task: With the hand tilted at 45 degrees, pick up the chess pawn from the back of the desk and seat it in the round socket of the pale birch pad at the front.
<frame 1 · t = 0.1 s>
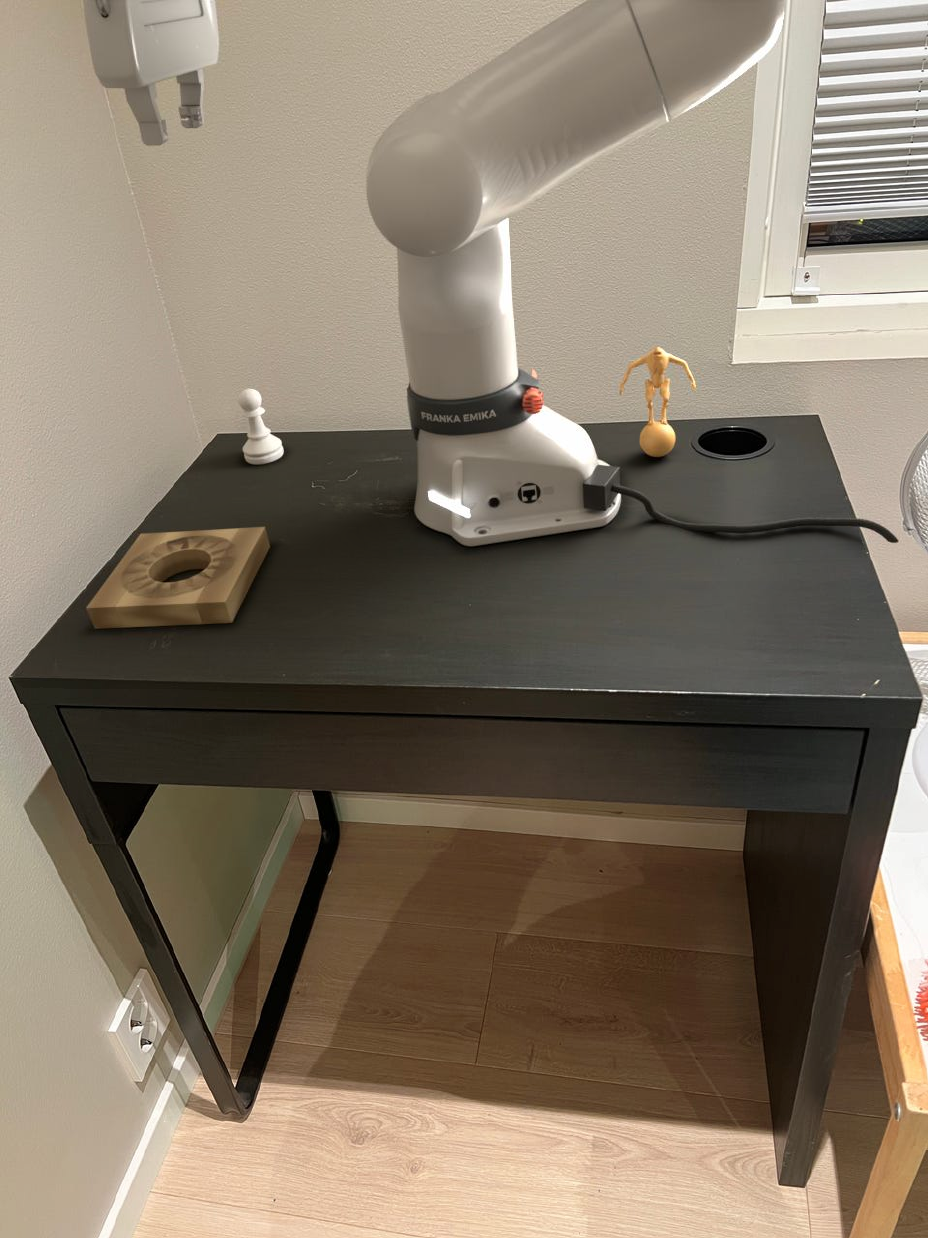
hand: (175, 135, 83), 39 cm above the table, tool pointing down, fingers open, 8 cm apart
socket pad: (186, 585, 94), on the table
chess pawn: (265, 457, 119), on the table
figurine: (657, 452, 107), on the table
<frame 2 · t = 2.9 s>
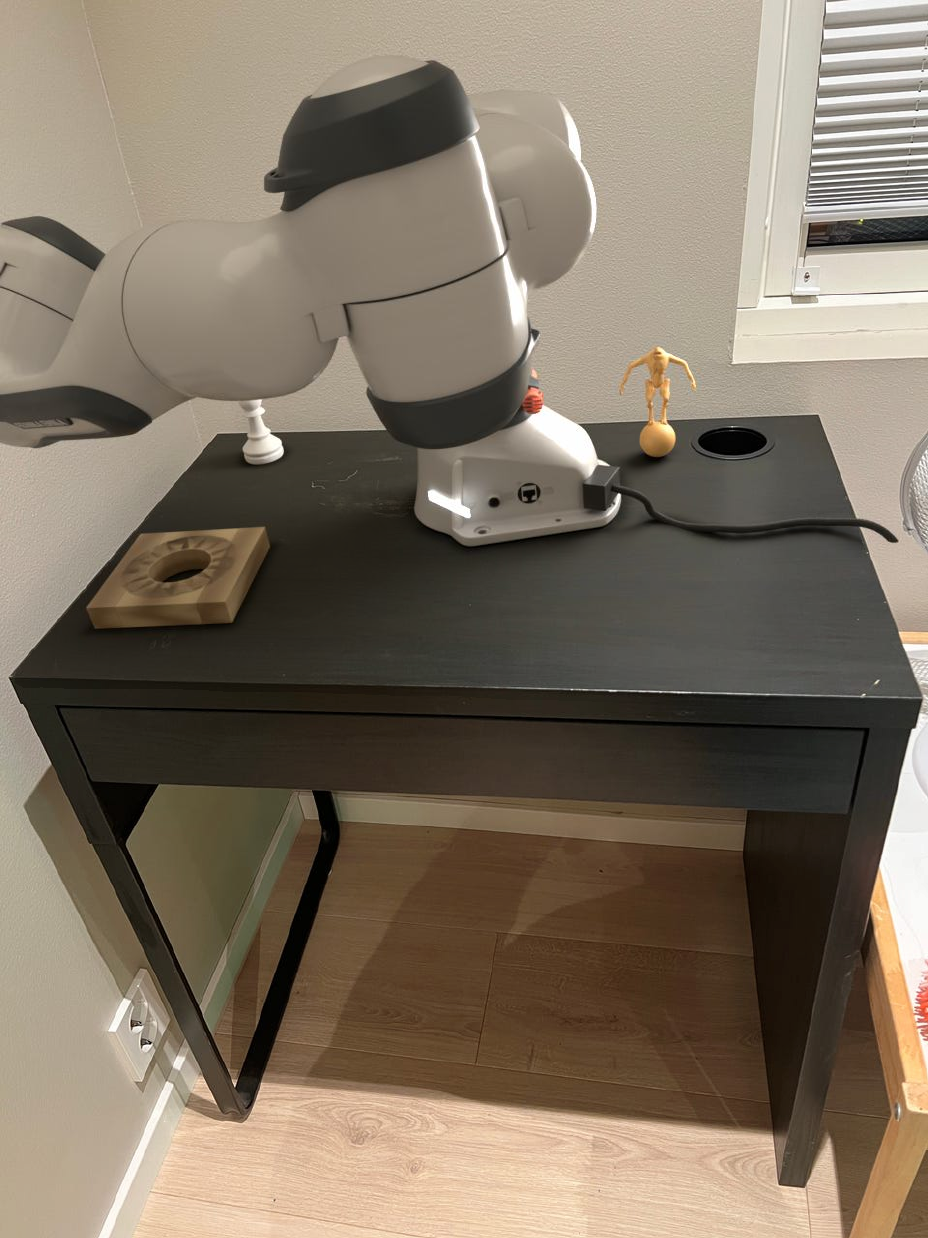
hand: (163, 382, 101), 15 cm above the table, tool tilted 45°, fingers open, 8 cm apart
nothing on the table moved.
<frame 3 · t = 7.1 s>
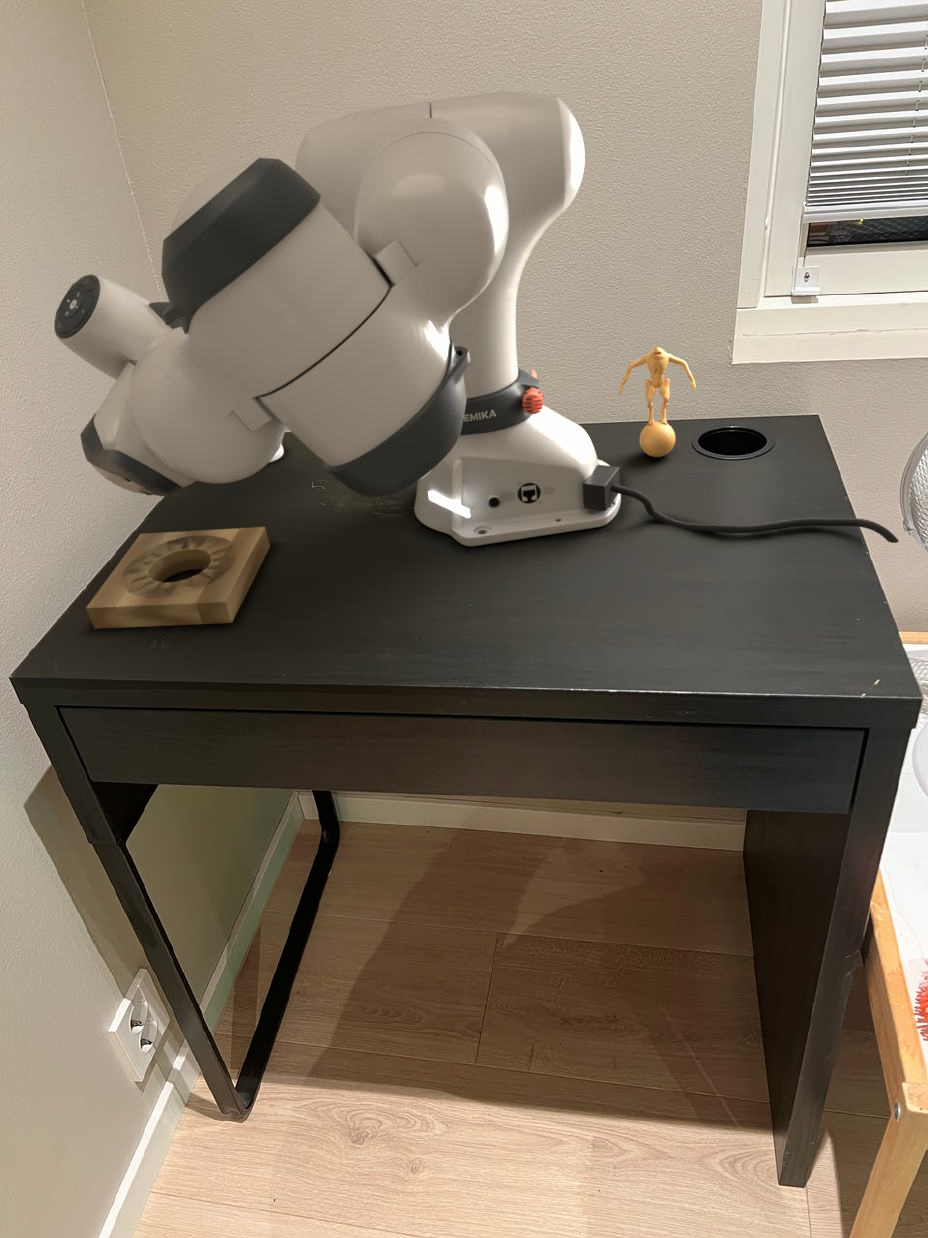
hand: (258, 418, 116), 5 cm above the table, tool tilted 45°, fingers closed on chess pawn, 3 cm apart
chess pawn: (265, 457, 119), on the table, touching gripper
everything else where it was.
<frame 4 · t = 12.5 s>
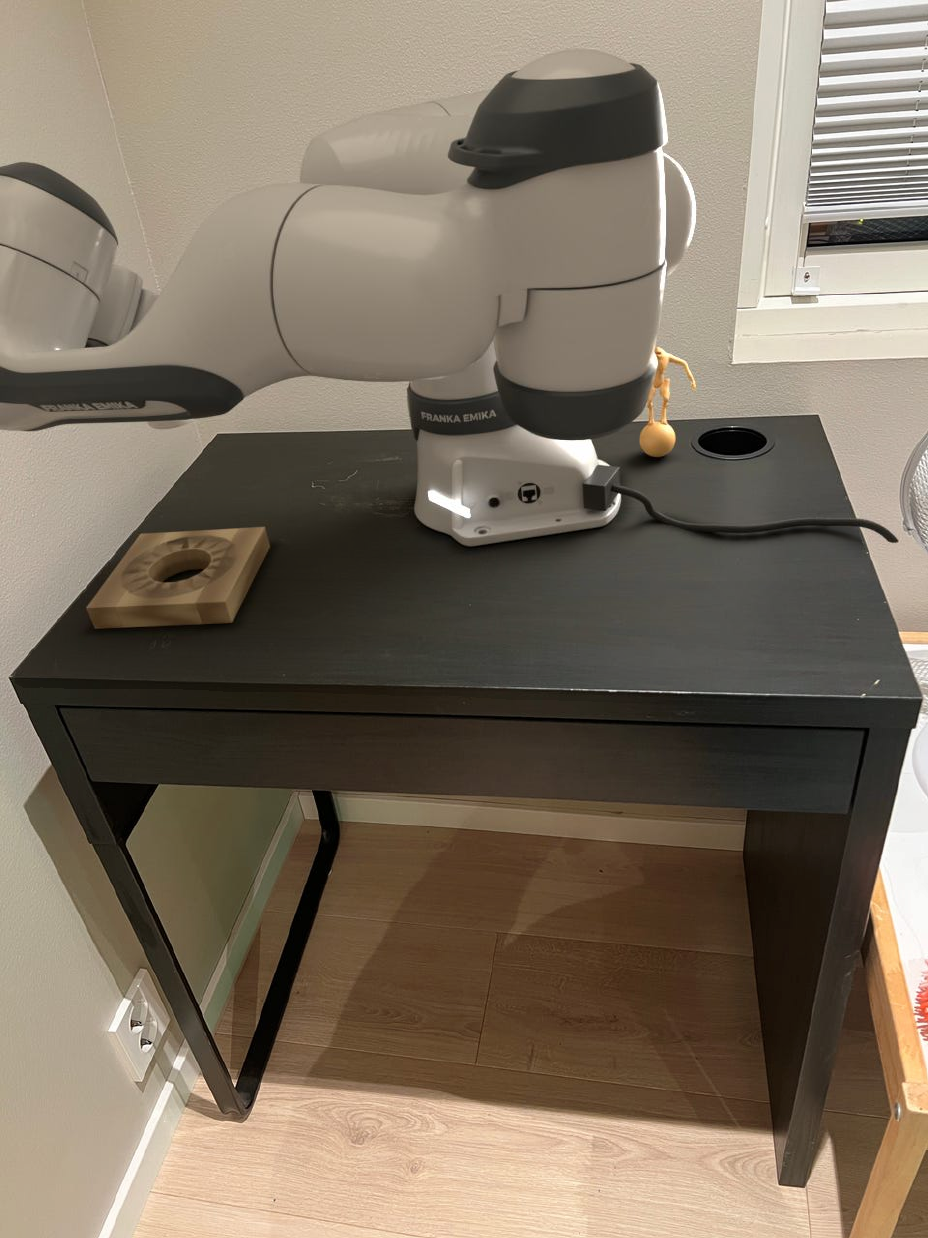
hand: (163, 370, 91), 19 cm above the table, tool tilted 45°, fingers closed on chess pawn, 3 cm apart
chess pawn: (174, 421, 93), point 14 cm above the table, touching gripper
everything else where it was.
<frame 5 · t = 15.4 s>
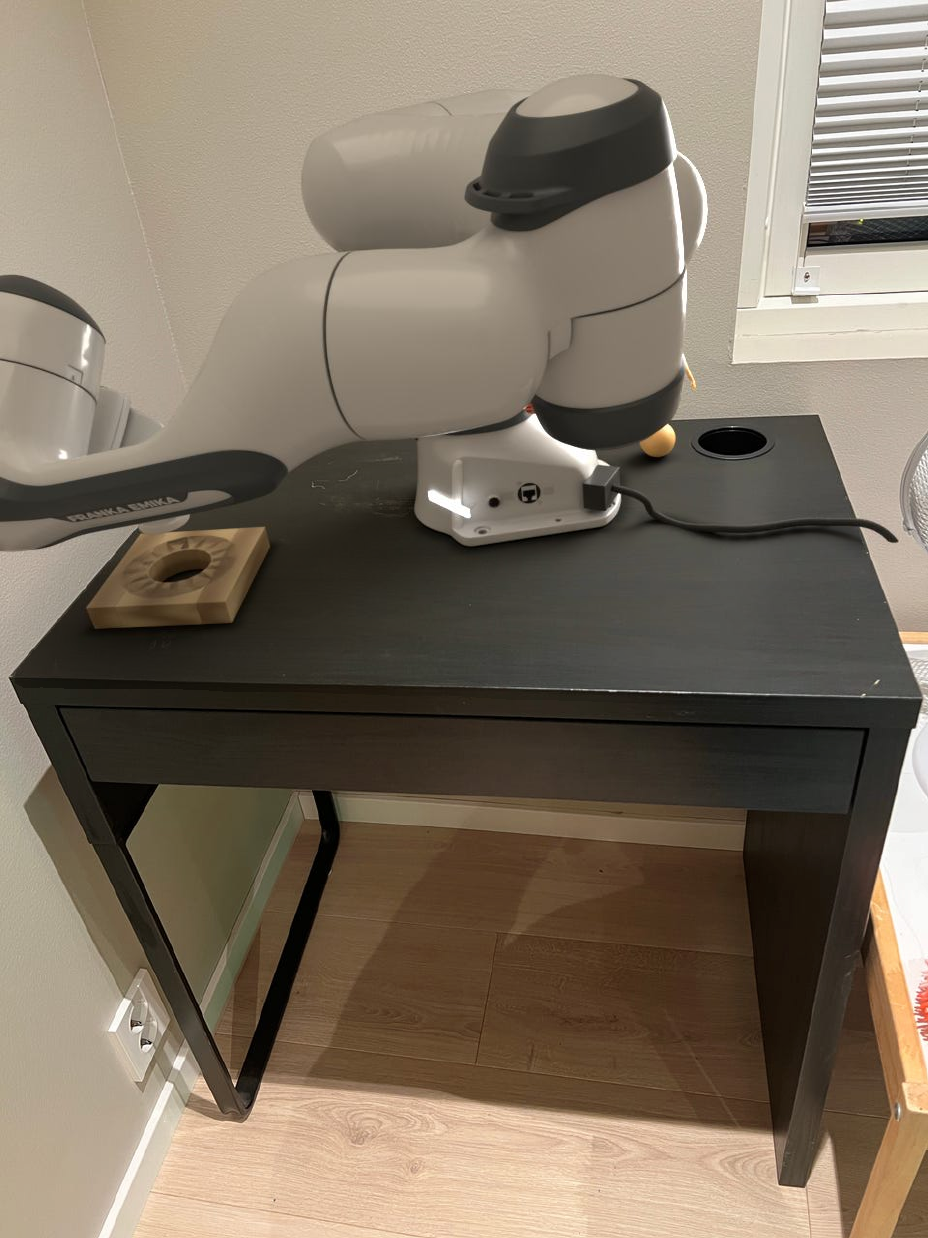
hand: (154, 474, 88), 12 cm above the table, tool tilted 45°, fingers closed on chess pawn, 3 cm apart
chess pawn: (165, 524, 90), point 7 cm above the table, touching gripper
everything else where it was.
when the fingers open (5 cm above the table, at t = 17.8 s): chess pawn stays where it is, resting in socket pad.
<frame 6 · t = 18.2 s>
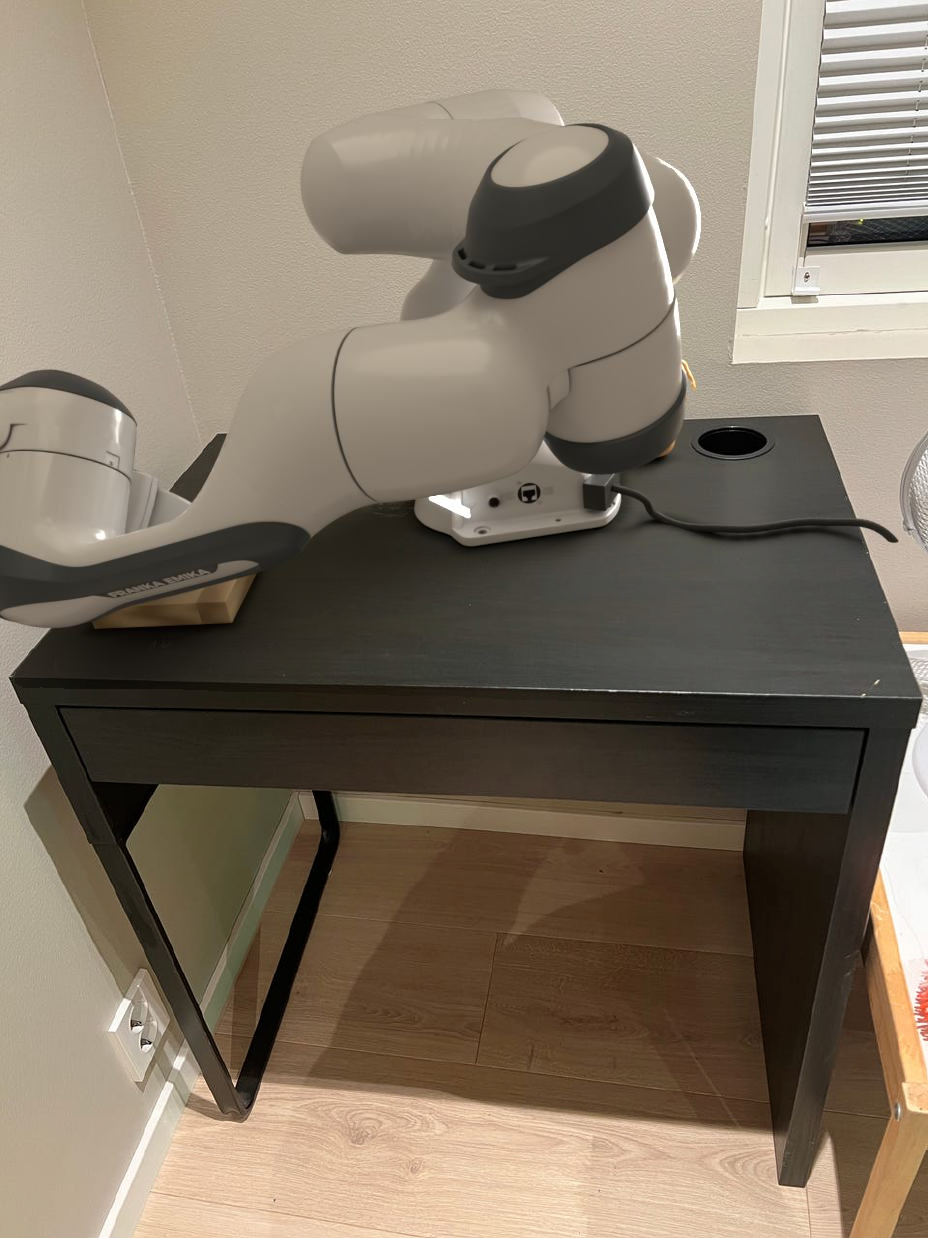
hand: (176, 538, 92), 5 cm above the table, tool tilted 45°, fingers open, 7 cm apart
chess pawn: (187, 587, 94), resting in socket pad
everything else where it was.
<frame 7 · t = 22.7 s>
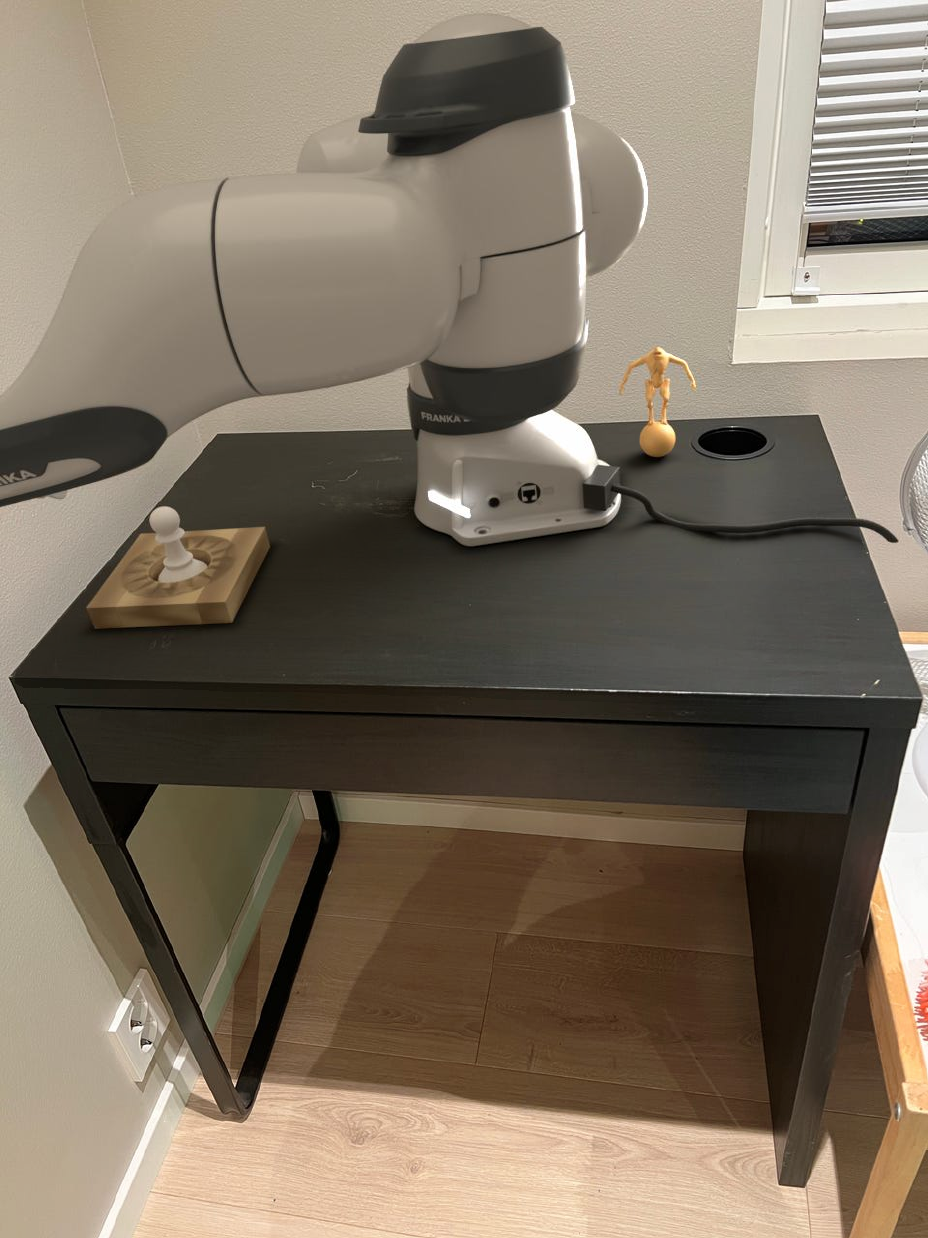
hand: (21, 481, 75), 18 cm above the table, tool tilted 45°, fingers open, 8 cm apart
nothing on the table moved.
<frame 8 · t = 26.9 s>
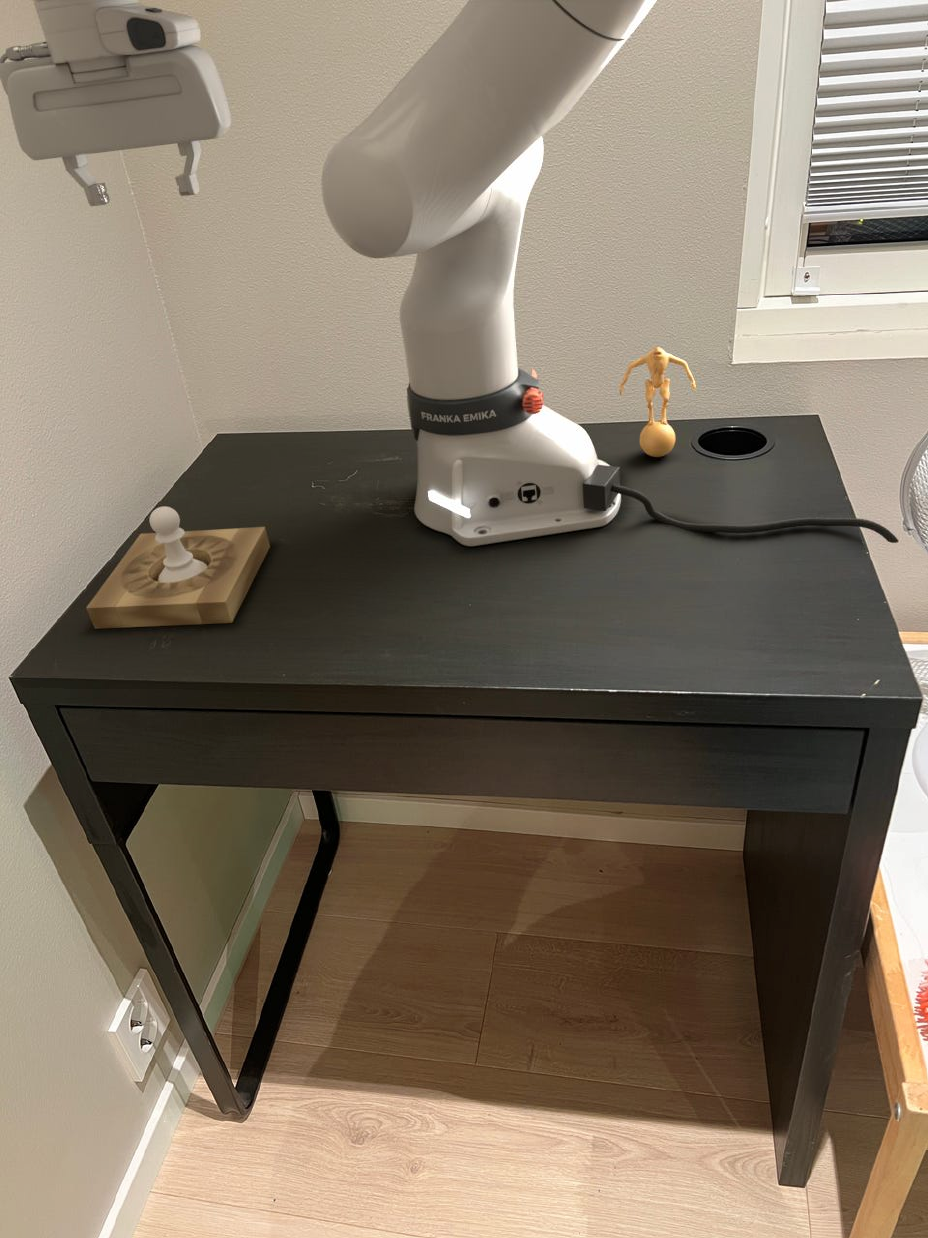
hand: (145, 199, 91), 33 cm above the table, tool pointing down, fingers open, 8 cm apart
nothing on the table moved.
at the end: chess pawn 0.1 cm off-centre in the socket pad, point 0.0 cm above the socket pad's base; chess pawn tilted 0°; the gripper is holding nothing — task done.
